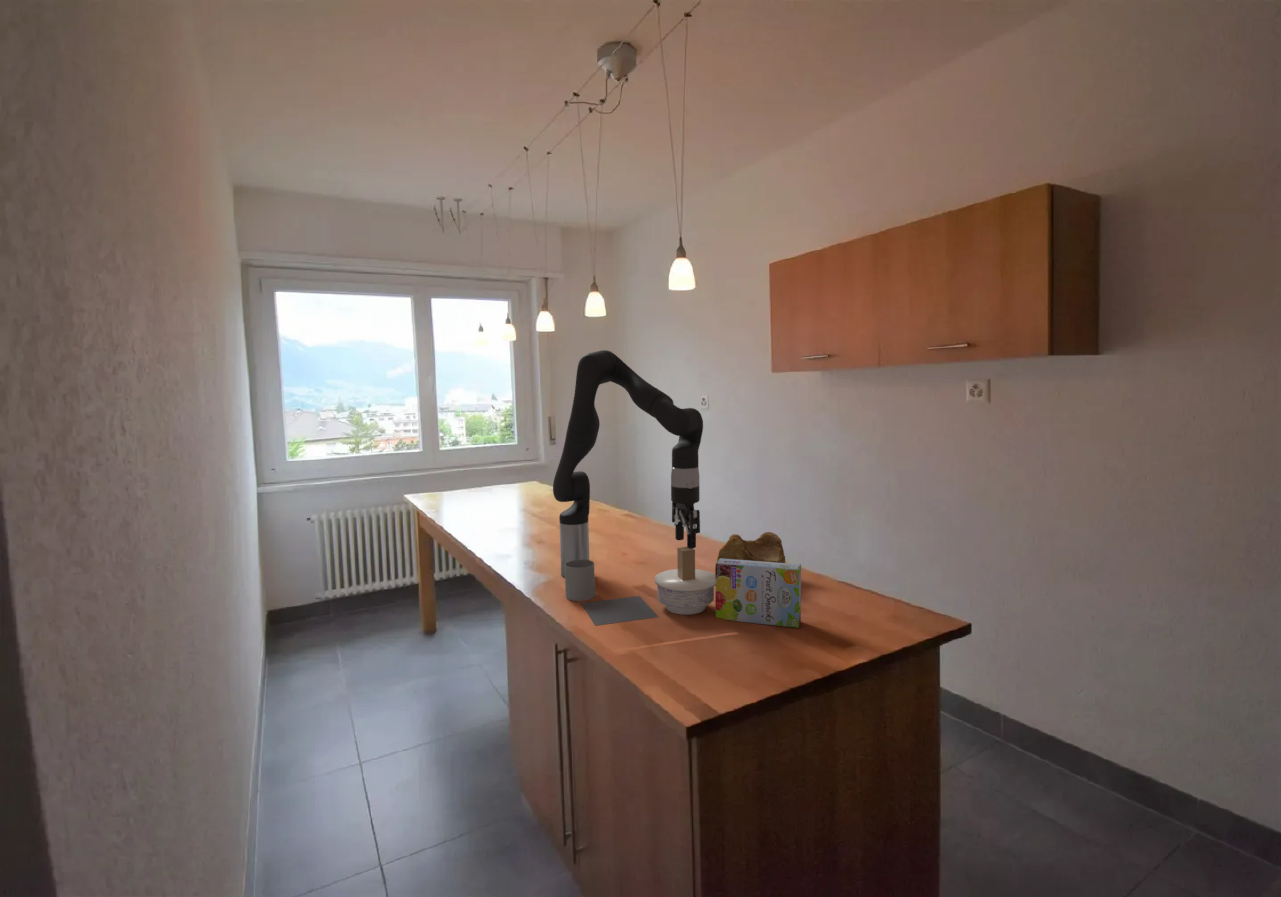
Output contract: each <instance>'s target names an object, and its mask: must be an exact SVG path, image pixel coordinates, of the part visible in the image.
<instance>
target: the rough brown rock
mask: <svg viewBox="0 0 1281 897" xmlns="http://www.w3.org/2000/svg"><path fill="white" fill-rule="evenodd" d="M782 543H783V542H782V539H781V538H780V537H779V536H778V534H776V533H774V532H771V531H767V532H763V533H762V534H761V535H759V537H758V538H756V539H754V540H745V539H743V538H742V537H741V535H739V534H731V535H730V536H729V537H728V540H727V541H726V542H725V544H724V545H723V546H722V547H721V548H720V549H719V551H718V555H717V559H716V562H717V561H718V560H719V559H720V558H722V559H735V560H749V561H762V562H776V563H786V556H785V552H784V548H783V544H782Z"/></svg>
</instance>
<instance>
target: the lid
mask: <svg viewBox="0 0 1281 897" xmlns="http://www.w3.org/2000/svg"><path fill="white" fill-rule="evenodd" d="M676 549H677V551H676V552H677V568H674V569H668V570H664V571H661V572H659V573H657V574H656V575H655V576H654V583H655V585H656V586H657V585H658V586H660V587H662V588H665V589H669V590H674V591H700V590H705V589H709V588H712V587H715V573H713V572H712V571H708V570H705V569H704V570H703V569H698V568H696V550H695V548H690V549H689V548H688V547H687V546H684V547H683V546H682V547H677V548H676Z"/></svg>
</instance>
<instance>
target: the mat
mask: <svg viewBox="0 0 1281 897" xmlns="http://www.w3.org/2000/svg"><path fill="white" fill-rule="evenodd" d="M580 604H581V606H582V607H583V608H584V610H585V612H586V614H587V615H588V617H589V619H590V620H591V622H592V623H593V625H594V626H596V627H597V626H603V625H612V624H617V623H619V624H620V623H625V622H635V621H641V620H649V619H654V618H655V619H656V618H659V617H660V616H659V615H658V614H657V613H656V612H655V610H654V609H652V608H651V607H650V605H649V604H647V602H646V601H645V600H644V599H643V597H642V596H640V595H637V596H628V597H618V598H609V599H604V600H597V601H596V600H595V601H587V602H586V601H585V602H581V603H580Z"/></svg>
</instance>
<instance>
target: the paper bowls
mask: <svg viewBox="0 0 1281 897" xmlns="http://www.w3.org/2000/svg"><path fill="white" fill-rule="evenodd" d="M656 586H657V590H656V591H657V593H656V594H657V601H658V603H660V604H662V605H663V606H665V608H666V610H668V612H670V613H672V614H677V615H681V616H685V615H697V614H699V613H700V614H701V613H702V612H704V611H705V609H706V608H707V606H708V605H710V604H711V603H712V602H713V601H714V600H715V588H714V587H715V586H714V587H712V588H709V589H705V590H700V591H674V590H669V589H665V588H662V587H660V586H658V585H657V584H656Z"/></svg>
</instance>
